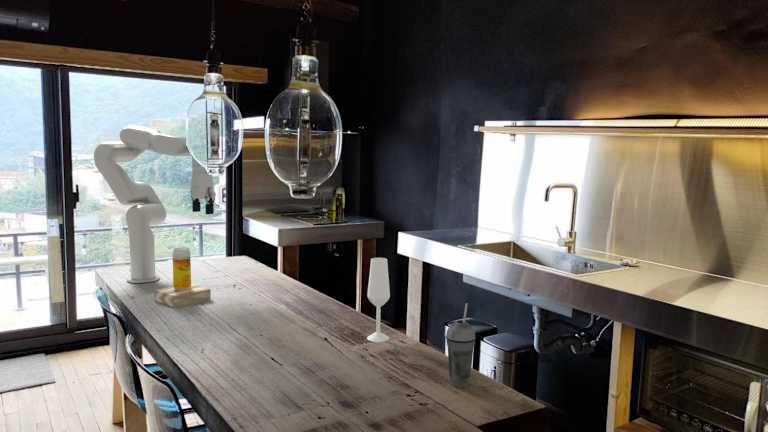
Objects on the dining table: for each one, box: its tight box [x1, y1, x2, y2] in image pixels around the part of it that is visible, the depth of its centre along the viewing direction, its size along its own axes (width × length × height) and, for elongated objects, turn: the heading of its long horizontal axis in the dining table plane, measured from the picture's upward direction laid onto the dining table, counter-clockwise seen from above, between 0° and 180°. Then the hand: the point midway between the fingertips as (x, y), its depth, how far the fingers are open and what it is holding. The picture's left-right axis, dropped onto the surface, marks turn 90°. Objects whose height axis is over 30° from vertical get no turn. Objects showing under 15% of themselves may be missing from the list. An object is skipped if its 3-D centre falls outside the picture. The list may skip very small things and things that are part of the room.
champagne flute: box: [366, 257, 391, 343], centre depth 170 cm, size 7×7×24 cm
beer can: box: [172, 247, 192, 291], centre depth 209 cm, size 6×6×15 cm
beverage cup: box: [445, 302, 477, 388], centre depth 138 cm, size 7×7×20 cm
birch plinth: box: [154, 283, 212, 309], centre depth 210 cm, size 14×14×4 cm
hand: (202, 212), depth 227 cm, fingers open, 9 cm apart
